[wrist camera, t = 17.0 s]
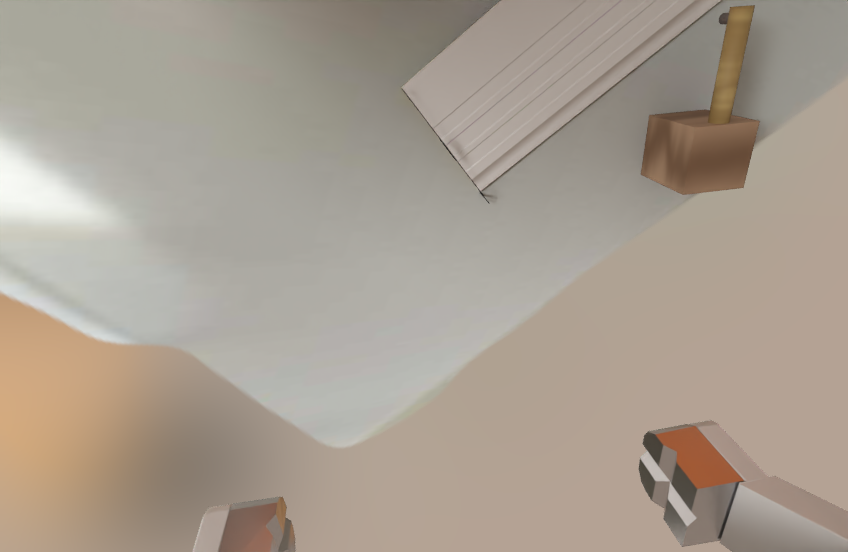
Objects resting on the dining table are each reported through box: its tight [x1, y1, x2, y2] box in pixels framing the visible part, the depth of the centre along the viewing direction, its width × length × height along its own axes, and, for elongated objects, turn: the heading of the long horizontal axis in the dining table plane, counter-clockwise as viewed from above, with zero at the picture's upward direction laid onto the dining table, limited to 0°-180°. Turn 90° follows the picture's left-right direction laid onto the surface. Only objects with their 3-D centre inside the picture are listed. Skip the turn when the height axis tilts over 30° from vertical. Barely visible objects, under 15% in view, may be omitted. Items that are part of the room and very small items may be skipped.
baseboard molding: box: [401, 0, 721, 203], centre depth 35 cm, size 31×3×12 cm
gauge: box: [641, 5, 760, 195], centre depth 37 cm, size 12×5×6 cm, turn 4°
